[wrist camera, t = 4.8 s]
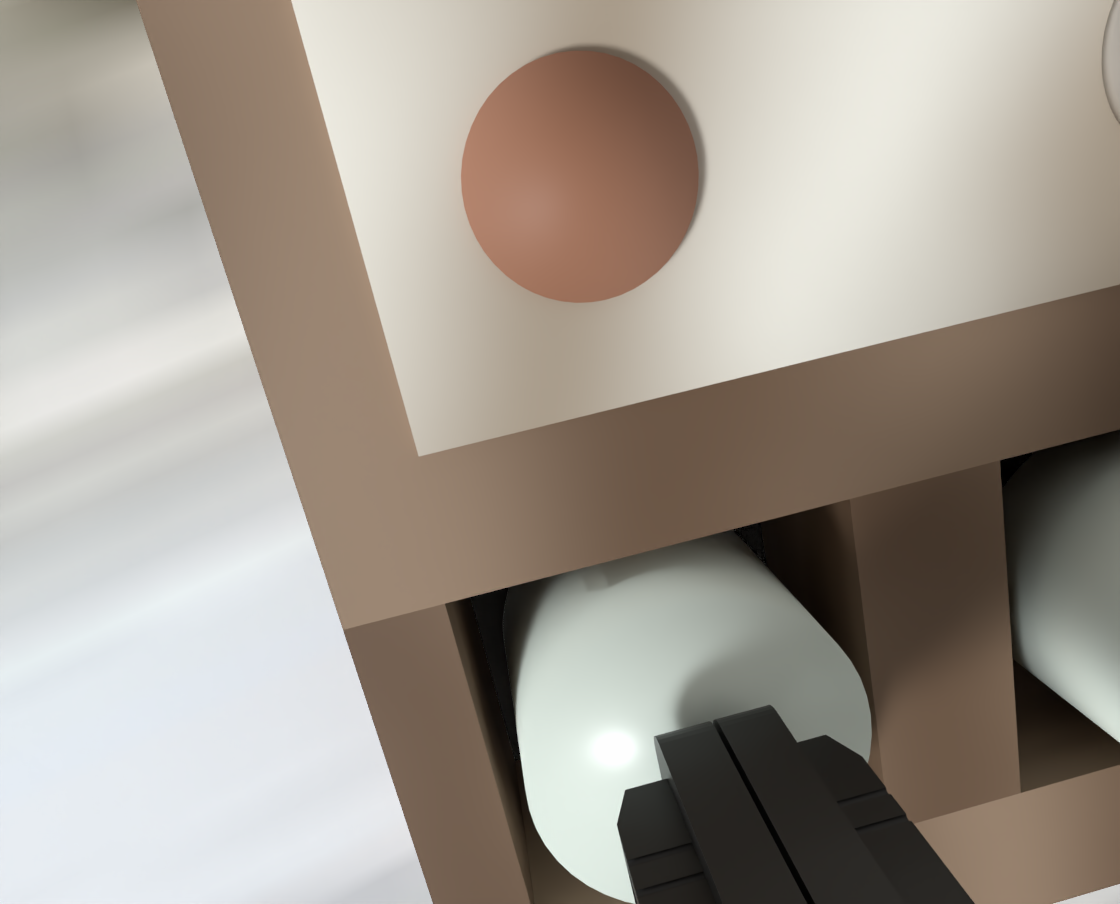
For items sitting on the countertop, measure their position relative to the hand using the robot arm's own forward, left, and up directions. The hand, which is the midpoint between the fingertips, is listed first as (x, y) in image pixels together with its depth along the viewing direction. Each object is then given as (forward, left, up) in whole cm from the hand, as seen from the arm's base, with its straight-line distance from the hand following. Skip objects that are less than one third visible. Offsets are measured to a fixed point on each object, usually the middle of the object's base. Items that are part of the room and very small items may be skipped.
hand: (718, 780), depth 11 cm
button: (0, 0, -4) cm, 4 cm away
